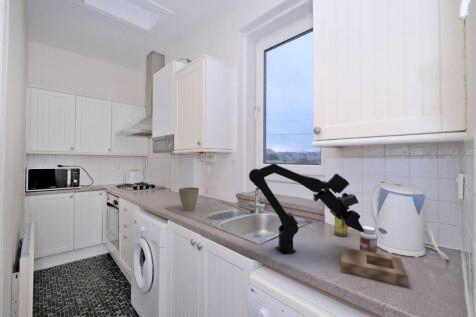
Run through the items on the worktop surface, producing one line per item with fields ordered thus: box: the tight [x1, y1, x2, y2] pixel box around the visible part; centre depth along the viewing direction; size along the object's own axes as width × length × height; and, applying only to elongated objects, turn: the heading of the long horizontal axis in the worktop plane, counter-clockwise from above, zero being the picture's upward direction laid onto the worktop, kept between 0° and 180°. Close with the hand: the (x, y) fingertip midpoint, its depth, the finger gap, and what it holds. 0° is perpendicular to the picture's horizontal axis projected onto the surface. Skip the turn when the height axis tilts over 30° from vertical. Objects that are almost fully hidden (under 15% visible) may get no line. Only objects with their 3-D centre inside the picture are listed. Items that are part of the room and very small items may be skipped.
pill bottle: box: [359, 225, 378, 254], centre depth 92 cm, size 6×6×11 cm
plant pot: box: [178, 186, 200, 212], centre depth 164 cm, size 15×15×16 cm
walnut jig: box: [340, 246, 409, 288], centre depth 79 cm, size 19×14×4 cm
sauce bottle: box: [333, 195, 349, 237], centre depth 114 cm, size 7×6×20 cm
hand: (358, 227), depth 92 cm, fingers open, 9 cm apart
